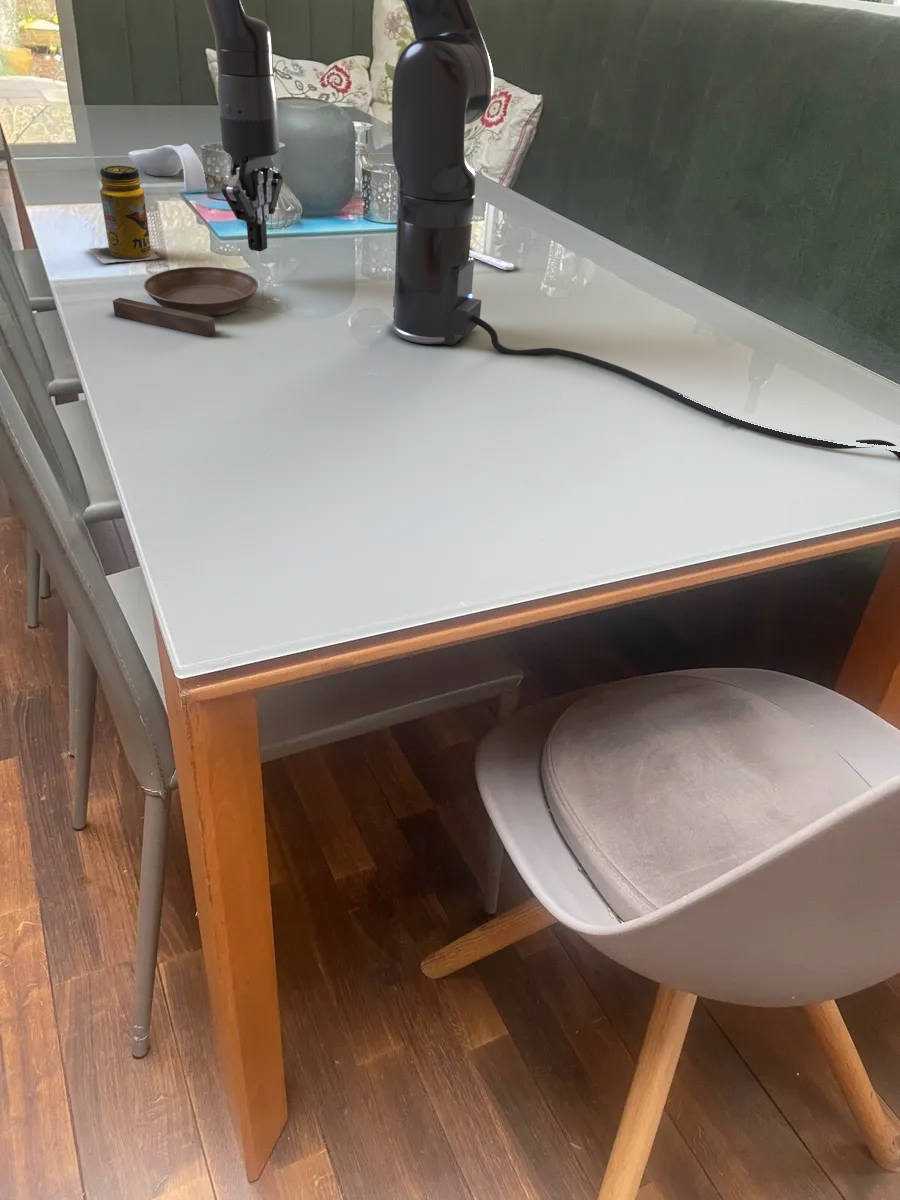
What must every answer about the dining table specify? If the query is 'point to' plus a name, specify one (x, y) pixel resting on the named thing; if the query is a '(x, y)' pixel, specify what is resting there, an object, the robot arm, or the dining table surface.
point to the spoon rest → (172, 164)
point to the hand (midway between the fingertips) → (258, 249)
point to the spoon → (492, 260)
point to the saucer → (202, 290)
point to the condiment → (124, 217)
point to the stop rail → (164, 317)
